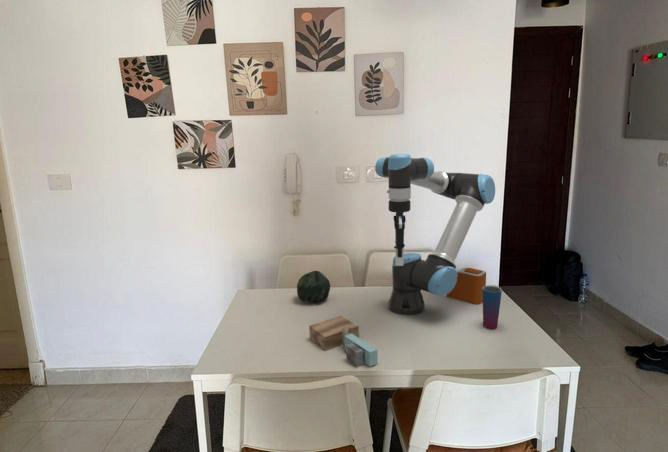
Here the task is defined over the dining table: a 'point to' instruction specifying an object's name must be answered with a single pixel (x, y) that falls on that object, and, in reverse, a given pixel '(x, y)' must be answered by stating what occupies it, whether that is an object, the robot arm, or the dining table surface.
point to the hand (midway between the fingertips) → (399, 265)
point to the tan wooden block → (337, 337)
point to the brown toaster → (469, 286)
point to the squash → (313, 287)
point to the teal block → (368, 350)
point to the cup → (491, 306)
